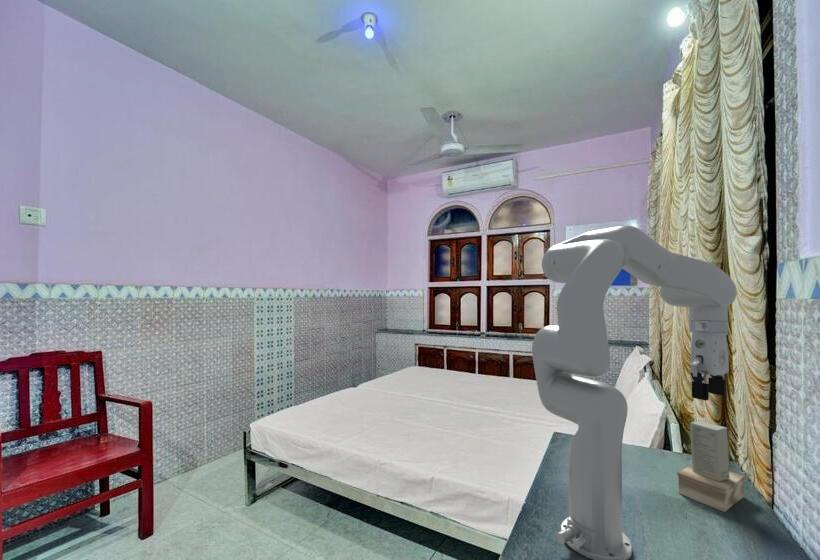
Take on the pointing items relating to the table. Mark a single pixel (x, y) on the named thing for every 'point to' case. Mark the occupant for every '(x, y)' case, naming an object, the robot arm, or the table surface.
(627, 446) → the table surface
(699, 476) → the birch trinket box
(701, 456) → the skincare box
